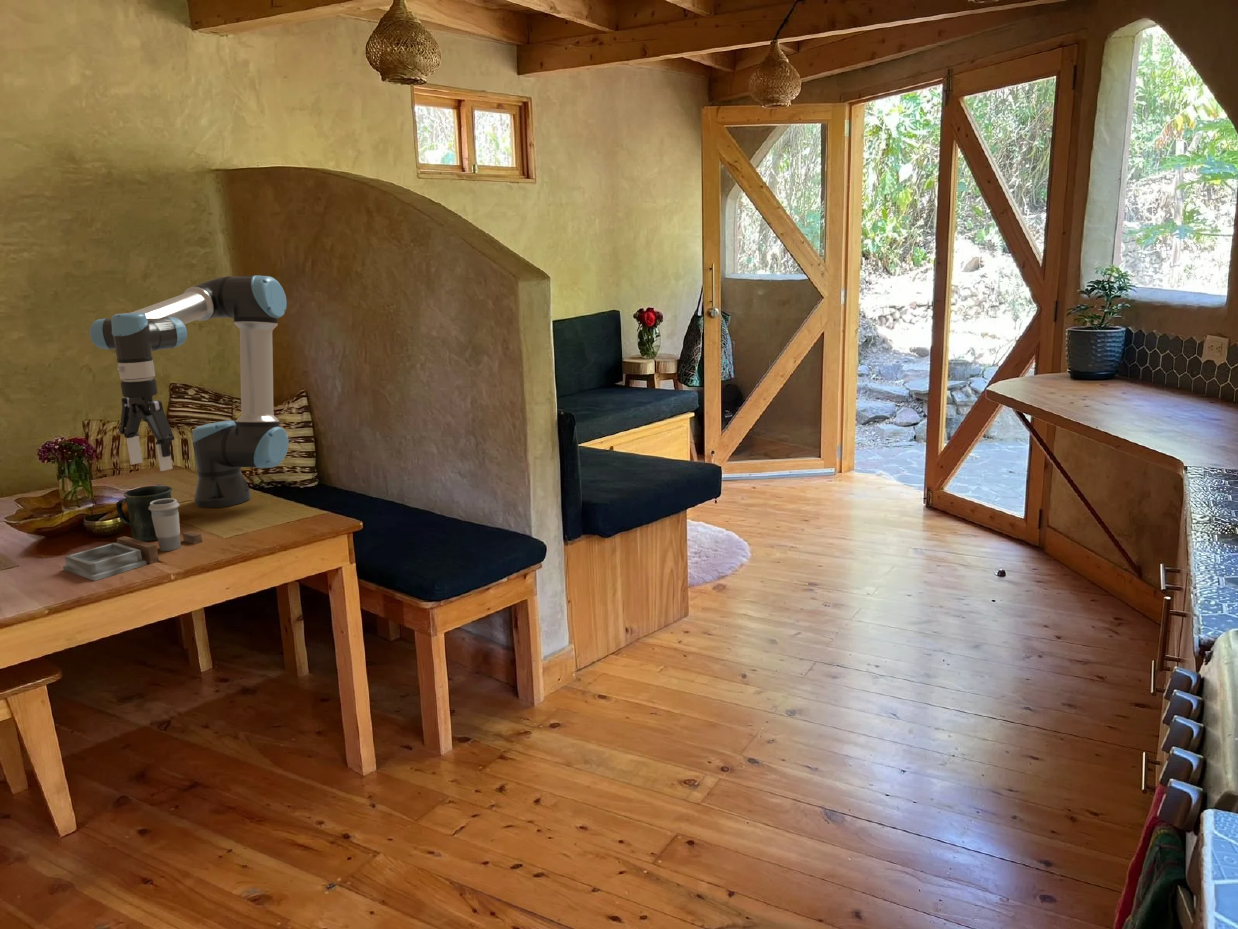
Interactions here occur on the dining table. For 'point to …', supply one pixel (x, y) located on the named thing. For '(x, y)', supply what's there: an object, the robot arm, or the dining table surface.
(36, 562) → the dining table surface
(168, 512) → the cup
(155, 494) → the mug
